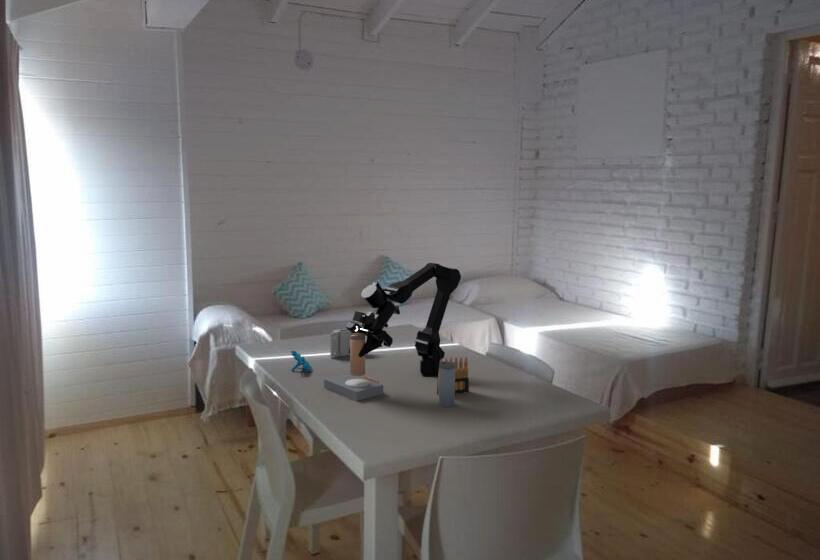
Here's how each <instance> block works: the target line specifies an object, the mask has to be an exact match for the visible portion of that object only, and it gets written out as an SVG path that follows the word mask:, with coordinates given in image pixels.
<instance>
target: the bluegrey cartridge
mask: <svg viewBox="0 0 820 560" xmlns="http://www.w3.org/2000/svg"><path fill="white" fill-rule="evenodd" d="M439 367H440V375H439V395H438V405H439V406H440V407H443V408H451V407H455V403H456V402H455V401H456V400H455V398H456V397H455V395H456V394H455V367H456V364H455V363H454V361H453V362H450V361H448V362H445V361H442V362H441V363H439Z"/></svg>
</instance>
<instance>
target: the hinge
mask: <svg viewBox="0 0 820 560" xmlns="http://www.w3.org/2000/svg"><path fill="white" fill-rule="evenodd" d="M329 334H330V337H329V338H330V339H329V342H330V344H329V345H330V347H329V348H330V351H329V352H330V357H329V358H333V359H335V357H336V358H338V356H339V357H346V355H349V356H350V353H349V348H350V334H352V333H351V332H350V331H349V330H348V329H347V328H342V329H333V330H332V332H330V333H329Z"/></svg>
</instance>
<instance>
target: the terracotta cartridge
mask: <svg viewBox="0 0 820 560" xmlns="http://www.w3.org/2000/svg"><path fill="white" fill-rule="evenodd" d="M365 343H366V335H365V334H363V333H352V334H350V355H349V360H350V361H349V362H350V363H349V364H350V365H349V366H350V367H349V369H350V370H349V373H350V374H351V375H353V376H360V377H362V376H366V355H364V356H362V357H359V356H358V355H359V353H360V351H361V349H362V348H363V346H364V344H365Z"/></svg>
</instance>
